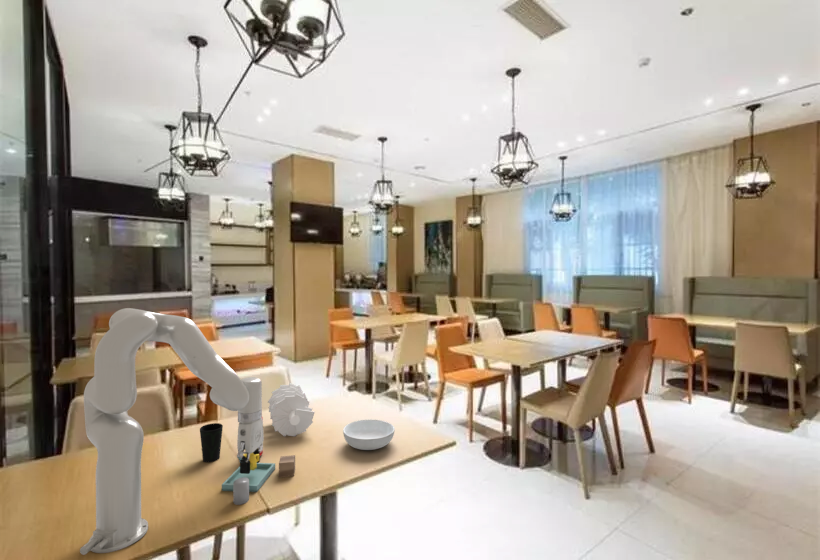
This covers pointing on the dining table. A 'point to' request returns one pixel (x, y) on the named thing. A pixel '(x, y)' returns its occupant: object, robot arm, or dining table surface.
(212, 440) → the cup
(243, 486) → the grey cylinder
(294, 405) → the spiral staircase
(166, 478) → the dining table surface
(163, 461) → the dining table surface
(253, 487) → the tray
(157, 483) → the dining table surface
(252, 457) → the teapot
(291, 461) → the walnut cube
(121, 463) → the robot arm
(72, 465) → the dining table surface
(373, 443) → the serving bowl
